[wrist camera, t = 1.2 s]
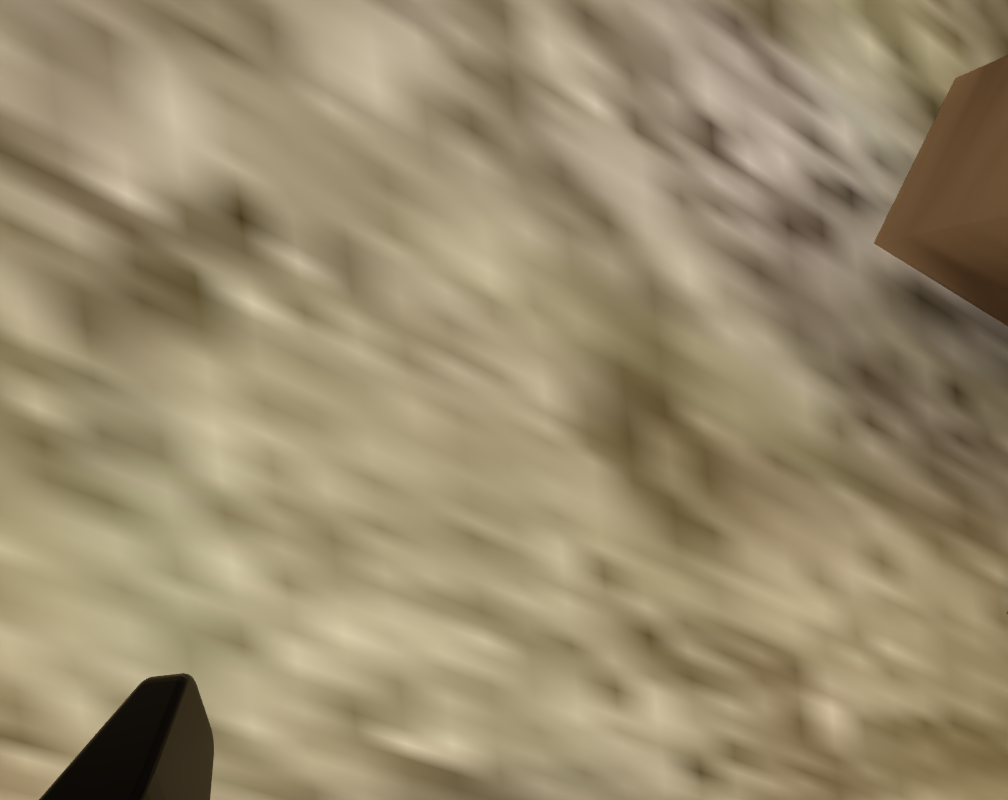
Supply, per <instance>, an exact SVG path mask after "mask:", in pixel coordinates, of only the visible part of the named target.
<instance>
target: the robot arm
mask: <svg viewBox="0 0 1008 800" xmlns="http://www.w3.org/2000/svg"><path fill="white" fill-rule="evenodd" d="M213 759H214V742H213V734H212V730H211V727H210V724H209V721H208V718H207V715H206V712H205V709H204V706H203V702H202V699H201V696H200V693H199V690H198V687H197V685H196V682H195V680H194V679H193V678H192V676H190V675H189V674H184V673H182V674H174V675H165V676H156V677H150V678H148V679H146V680H144V681H143V682H142V683H140V684H139V685H138V687H137V688H136V689H135V690H134V691H133V692H132V693H131V695H130V696H129V697H128V698H127V699H126V700H125V702H124V703H123V704H122V705H121V706H120V707H119V708H118V710H117V711H116V712H115V713H114V714H113V715H112V716H111V718H110V719H109V720H108V721H107V722H106V723H105V725H104V726H103V727H102V728H101V729H100V730H99V731H98V733H97V734H96V735H95V736H94V737H93V738H92V739H91V741H90V742H89V743H88V744H87V745H86V746H85V748H84V749H83V750H82V751H81V752H80V753H79V754H78V756H77V757H76V758H75V759H74V760H73V761H72V762H71V764H70V765H69V766H68V767H67V768H66V769H65V770H64V772H63V773H62V774H61V775H60V776H59V777H58V779H57V780H56V781H55V782H54V783H53V784H52V785H51V787H50V788H49V789H48V790H47V791H46V792H45V793H44V795H43V796H42V797H41V798H40V799H39V800H210V793H211V781H212V770H213Z"/></svg>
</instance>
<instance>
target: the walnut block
mask: <svg viewBox="0 0 1008 800" xmlns="http://www.w3.org/2000/svg"><path fill="white" fill-rule="evenodd" d="M874 243H875V244H876V245H878V246H880V247H881V248H883V249H884V250H886V251H888V252H889V253H891V254H893V255H894V256H896V257H897V258H899V259H901V260H902V261H904V262H905V263H907V264H909V265H910V266H912V267H914V268H915V269H917V270H918V271H920V272H922V273H923V274H925V275H926V276H928V277H930V278H931V279H933V280H935V281H936V282H938V283H939V284H941V285H943V286H944V287H946V288H947V289H949V290H951V291H952V292H954V293H956V294H957V295H959V296H960V297H962V298H964V299H965V300H967V301H968V302H970V303H972V304H973V305H975V306H977V307H978V308H980V309H981V310H983V311H985V312H986V313H988V314H989V315H991V316H993V317H994V318H996V319H997V320H999V321H1001V322H1002V323H1004V324H1006V325H1007V326H1008V56H1006V57H1003V58H1001V59H999V60H997V61H994V62H992V63H990V64H987V65H985V66H983V67H981V68H978V69H976V70H974V71H972V72H969V73H967V74H965V75H963V76H960V77H958V78H956V79H955V80H954V82H953V84H952V86H951V88H950V90H949V93H948V95H947V97H946V99H945V101H944V103H943V105H942V107H941V109H940V111H939V113H938V115H937V117H936V119H935V121H934V123H933V125H932V127H931V129H930V131H929V133H928V135H927V137H926V139H925V141H924V143H923V145H922V147H921V149H920V151H919V153H918V155H917V157H916V159H915V161H914V163H913V165H912V167H911V169H910V171H909V173H908V175H907V177H906V180H905V182H904V184H903V186H902V188H901V190H900V192H899V194H898V196H897V198H896V200H895V202H894V204H893V206H892V208H891V210H890V212H889V214H888V216H887V218H886V220H885V222H884V224H883V226H882V228H881V230H880V232H879V234H878V236H877V238H876V240H875V242H874Z"/></svg>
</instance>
